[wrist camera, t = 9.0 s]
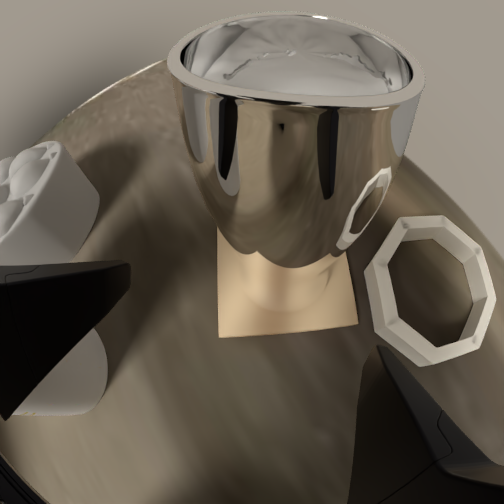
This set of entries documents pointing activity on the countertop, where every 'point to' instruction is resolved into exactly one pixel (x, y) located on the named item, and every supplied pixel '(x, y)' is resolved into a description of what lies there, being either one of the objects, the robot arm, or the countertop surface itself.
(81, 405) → the cup
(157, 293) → the countertop surface
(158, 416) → the countertop surface
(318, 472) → the countertop surface
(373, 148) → the beer glass
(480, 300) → the holder ring
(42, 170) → the lumpy-topped squat cylinder
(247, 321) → the coaster
